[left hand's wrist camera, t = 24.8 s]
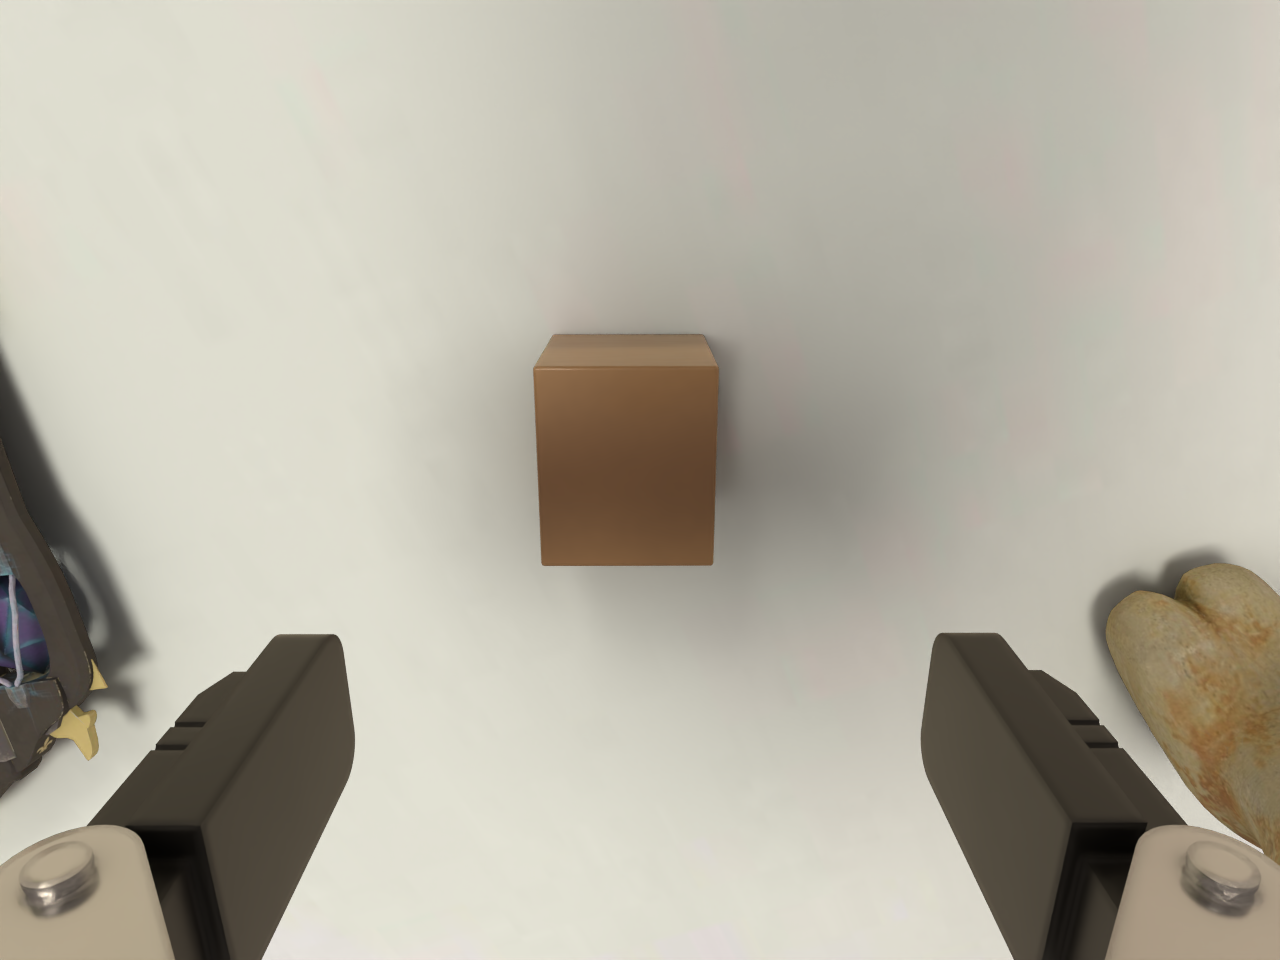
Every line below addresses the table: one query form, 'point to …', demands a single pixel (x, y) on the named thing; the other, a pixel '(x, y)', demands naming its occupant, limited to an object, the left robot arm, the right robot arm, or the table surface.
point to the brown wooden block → (626, 450)
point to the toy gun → (38, 646)
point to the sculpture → (1211, 690)
